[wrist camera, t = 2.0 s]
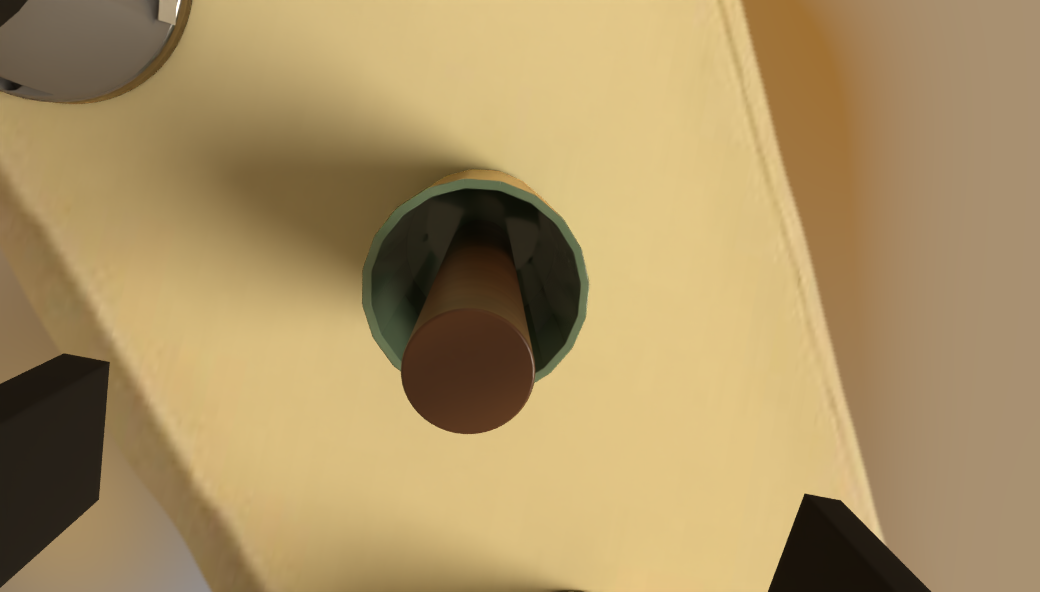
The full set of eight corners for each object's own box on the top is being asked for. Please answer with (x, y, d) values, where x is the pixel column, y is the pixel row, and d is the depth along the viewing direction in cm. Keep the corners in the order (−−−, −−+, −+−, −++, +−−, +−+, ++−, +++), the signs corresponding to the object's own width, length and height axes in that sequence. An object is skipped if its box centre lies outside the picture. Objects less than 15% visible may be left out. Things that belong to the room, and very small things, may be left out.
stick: (438, 240, 37) (373, 354, 17) (489, 207, 37) (488, 282, 16) (471, 291, 38) (449, 458, 18) (522, 259, 38) (560, 392, 17)
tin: (370, 224, 37) (315, 260, 26) (505, 137, 36) (511, 133, 25) (458, 351, 39) (444, 437, 28) (587, 272, 39) (628, 326, 27)
